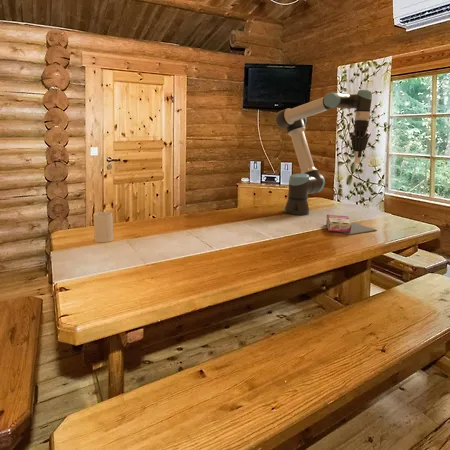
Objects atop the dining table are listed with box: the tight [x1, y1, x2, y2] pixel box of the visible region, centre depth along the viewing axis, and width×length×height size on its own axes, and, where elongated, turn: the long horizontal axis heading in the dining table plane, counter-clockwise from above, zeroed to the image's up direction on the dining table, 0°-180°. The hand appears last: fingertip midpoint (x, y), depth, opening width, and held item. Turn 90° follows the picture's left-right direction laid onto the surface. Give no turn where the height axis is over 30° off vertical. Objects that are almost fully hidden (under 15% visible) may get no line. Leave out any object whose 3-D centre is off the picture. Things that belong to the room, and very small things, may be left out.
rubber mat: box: [326, 222, 378, 236], centre depth 208 cm, size 16×20×1 cm
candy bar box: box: [325, 214, 352, 233], centre depth 207 cm, size 11×5×16 cm
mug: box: [93, 211, 115, 244], centre depth 178 cm, size 12×8×12 cm
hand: (356, 163), depth 222 cm, fingers closed
